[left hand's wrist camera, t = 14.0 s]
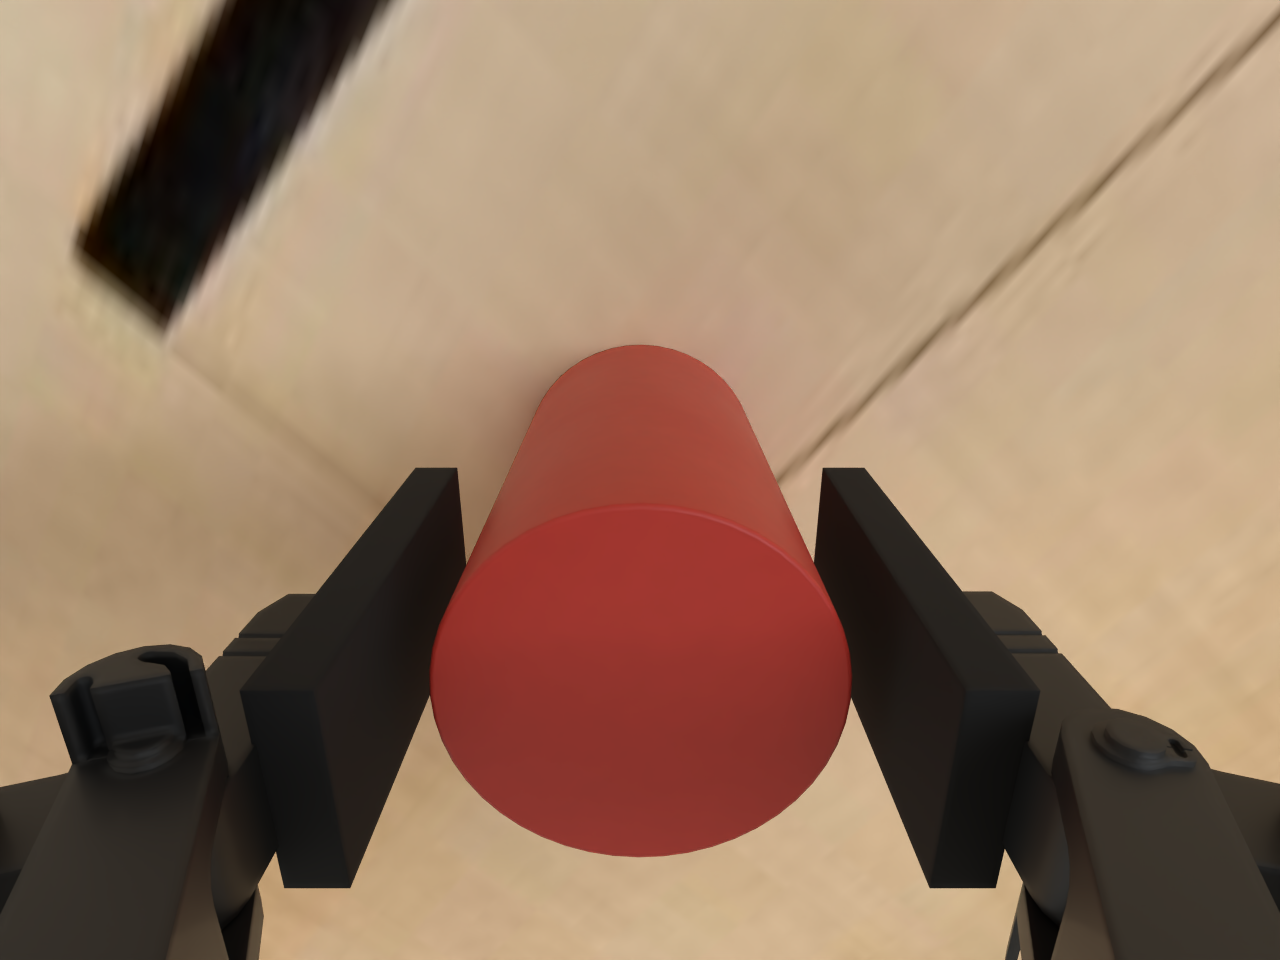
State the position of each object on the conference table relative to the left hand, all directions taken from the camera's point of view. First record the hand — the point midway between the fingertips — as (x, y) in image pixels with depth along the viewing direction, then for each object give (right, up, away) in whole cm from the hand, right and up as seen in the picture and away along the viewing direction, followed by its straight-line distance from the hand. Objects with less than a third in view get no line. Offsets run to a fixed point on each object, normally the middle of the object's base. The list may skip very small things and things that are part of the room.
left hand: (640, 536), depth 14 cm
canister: (0, +2, +4) cm, 5 cm away
